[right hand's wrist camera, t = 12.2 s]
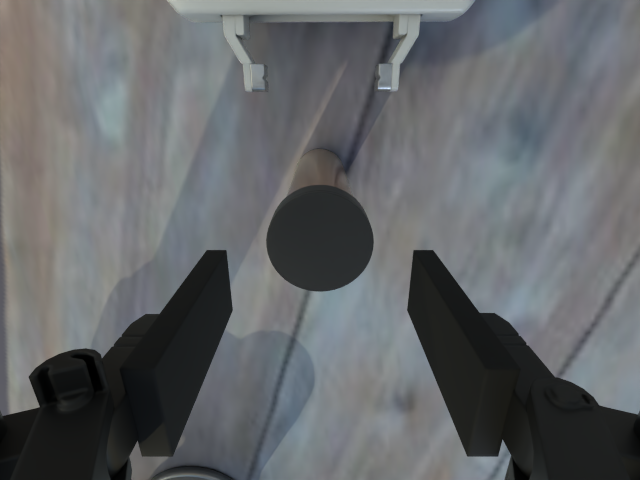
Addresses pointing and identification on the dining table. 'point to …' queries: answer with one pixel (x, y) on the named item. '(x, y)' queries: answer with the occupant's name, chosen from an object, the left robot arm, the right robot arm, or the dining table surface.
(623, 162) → the dining table surface
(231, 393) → the dining table surface
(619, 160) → the dining table surface
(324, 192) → the lid
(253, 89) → the left robot arm
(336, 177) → the bottle
